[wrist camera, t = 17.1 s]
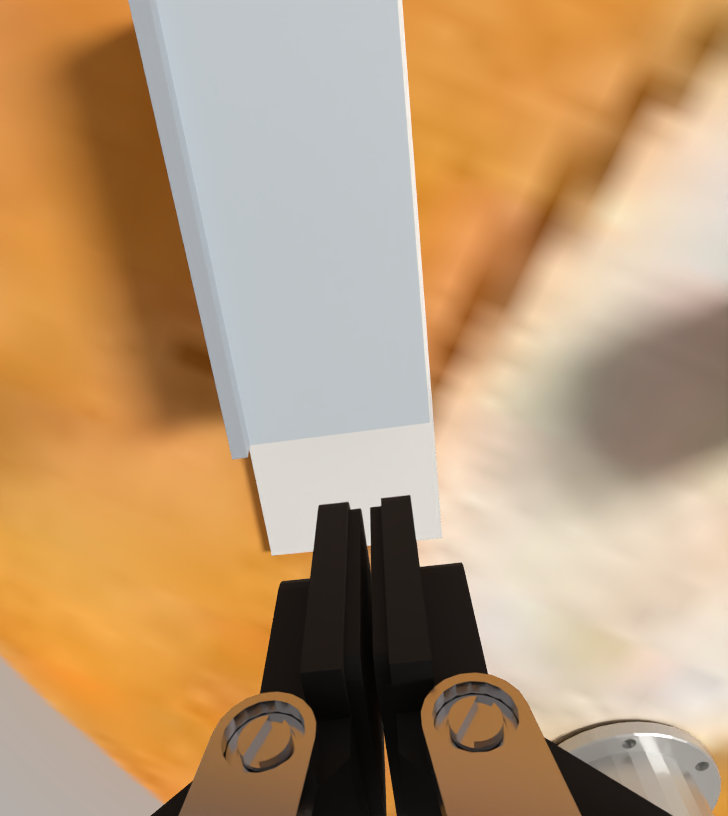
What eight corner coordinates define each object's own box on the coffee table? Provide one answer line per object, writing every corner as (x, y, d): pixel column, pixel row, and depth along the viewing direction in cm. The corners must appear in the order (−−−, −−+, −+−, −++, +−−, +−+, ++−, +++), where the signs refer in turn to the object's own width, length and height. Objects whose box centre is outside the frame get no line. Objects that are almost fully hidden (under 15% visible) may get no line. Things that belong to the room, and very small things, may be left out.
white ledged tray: (440, 531, 35) (450, 581, 32) (273, 548, 36) (264, 600, 32) (399, -21, 25) (407, -40, 21) (159, 10, 25) (127, -4, 21)
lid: (427, 416, 28) (433, 433, 26) (237, 440, 28) (232, 459, 26) (392, -39, 21) (397, -50, 19) (138, -8, 21) (124, -16, 19)
